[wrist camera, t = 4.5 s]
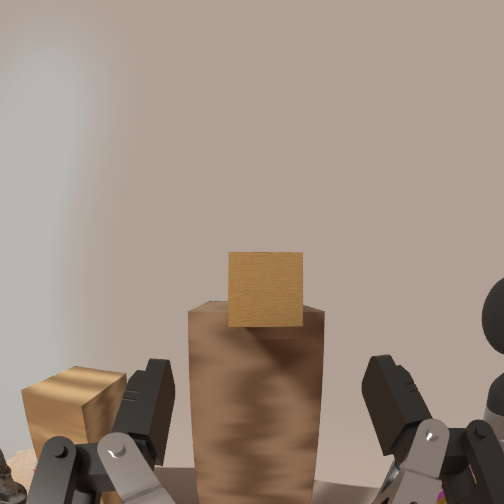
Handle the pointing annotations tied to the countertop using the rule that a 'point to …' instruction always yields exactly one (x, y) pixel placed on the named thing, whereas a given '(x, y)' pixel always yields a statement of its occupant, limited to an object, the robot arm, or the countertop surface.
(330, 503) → the countertop surface
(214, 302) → the walnut bridge
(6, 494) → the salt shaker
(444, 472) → the robot arm
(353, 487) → the countertop surface
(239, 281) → the grey and wood bar
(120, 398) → the oak block
